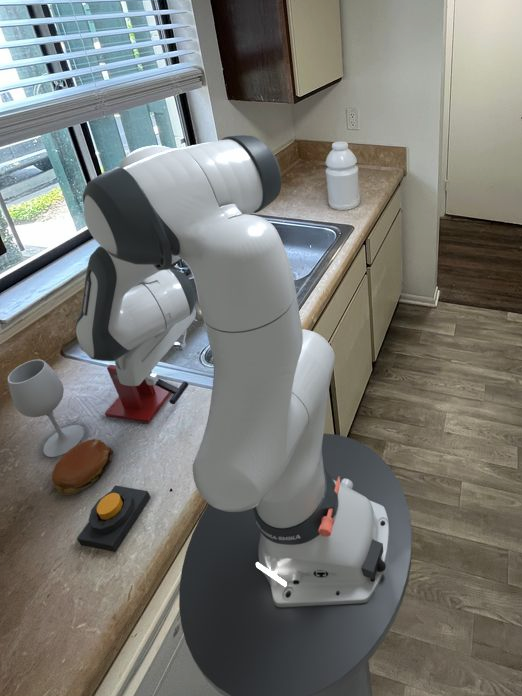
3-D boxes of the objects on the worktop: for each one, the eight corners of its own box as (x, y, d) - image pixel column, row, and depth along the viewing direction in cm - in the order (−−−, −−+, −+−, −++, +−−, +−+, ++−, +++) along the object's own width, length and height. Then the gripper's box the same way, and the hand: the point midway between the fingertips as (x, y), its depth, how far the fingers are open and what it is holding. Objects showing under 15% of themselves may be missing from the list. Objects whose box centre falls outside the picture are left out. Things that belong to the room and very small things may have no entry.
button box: (150, 497, 84) (145, 485, 82) (115, 552, 76) (108, 540, 74) (118, 491, 85) (112, 479, 83) (80, 545, 77) (72, 532, 75)
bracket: (174, 389, 106) (159, 347, 100) (149, 423, 98) (131, 379, 92) (133, 384, 107) (117, 342, 101) (105, 416, 99) (85, 373, 93)
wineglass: (93, 427, 97) (60, 358, 88) (64, 461, 90) (24, 390, 81) (64, 422, 98) (28, 353, 89) (33, 455, 91) (-9, 384, 82)
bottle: (330, 212, 186) (323, 150, 173) (327, 198, 198) (321, 139, 186) (362, 208, 188) (358, 147, 176) (358, 194, 201) (354, 136, 188)
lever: (187, 387, 101) (189, 382, 100) (173, 406, 97) (176, 400, 96) (127, 357, 100) (129, 351, 99) (111, 375, 96) (113, 369, 94)
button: (127, 500, 80) (124, 494, 79) (112, 521, 77) (109, 516, 76) (109, 496, 80) (107, 491, 80) (94, 518, 77) (91, 512, 76)
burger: (45, 499, 84) (36, 484, 82) (74, 451, 92) (67, 437, 90) (99, 493, 84) (91, 479, 82) (123, 447, 93) (116, 433, 91)
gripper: (128, 356, 79) (148, 408, 85) (194, 286, 97) (207, 332, 103) (97, 352, 80) (119, 404, 86) (169, 283, 98) (182, 329, 104)
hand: (167, 364), depth 95 cm, fingers open, 8 cm apart
